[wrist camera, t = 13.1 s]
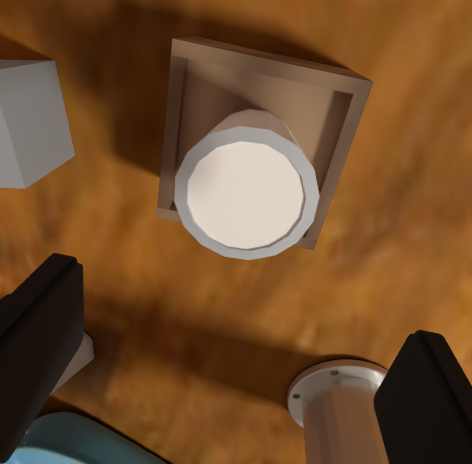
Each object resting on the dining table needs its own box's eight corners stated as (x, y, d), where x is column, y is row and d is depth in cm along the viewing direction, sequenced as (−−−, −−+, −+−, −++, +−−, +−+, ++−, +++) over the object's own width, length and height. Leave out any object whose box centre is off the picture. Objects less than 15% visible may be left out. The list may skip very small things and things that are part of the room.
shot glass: (322, 178, 24) (341, 232, 17) (229, 218, 26) (216, 278, 19) (279, 76, 21) (283, 97, 15) (178, 129, 23) (144, 167, 17)
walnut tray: (351, 70, 25) (373, 82, 20) (306, 211, 30) (313, 249, 25) (193, 35, 25) (172, 38, 19) (176, 184, 30) (156, 217, 25)
